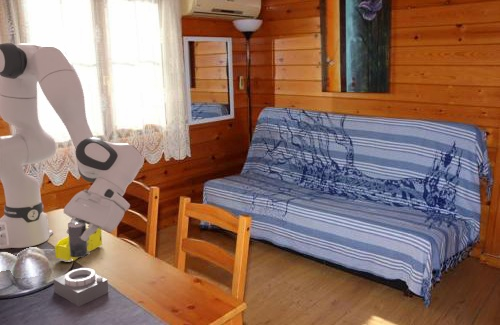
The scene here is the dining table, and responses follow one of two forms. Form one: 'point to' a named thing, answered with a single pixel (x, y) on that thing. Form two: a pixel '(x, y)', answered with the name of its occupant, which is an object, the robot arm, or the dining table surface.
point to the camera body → (80, 286)
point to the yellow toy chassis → (64, 249)
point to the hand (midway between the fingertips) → (75, 236)
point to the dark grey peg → (77, 238)
